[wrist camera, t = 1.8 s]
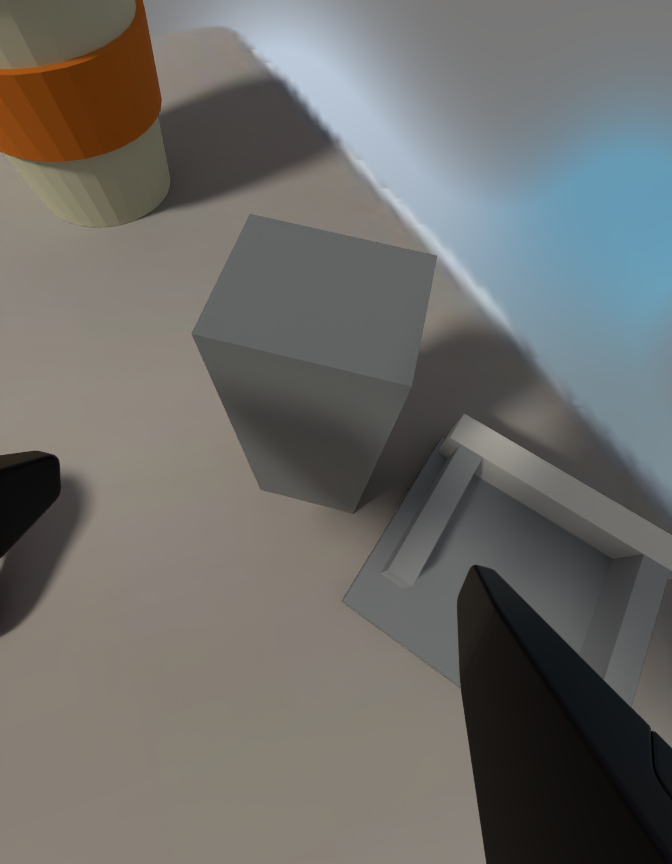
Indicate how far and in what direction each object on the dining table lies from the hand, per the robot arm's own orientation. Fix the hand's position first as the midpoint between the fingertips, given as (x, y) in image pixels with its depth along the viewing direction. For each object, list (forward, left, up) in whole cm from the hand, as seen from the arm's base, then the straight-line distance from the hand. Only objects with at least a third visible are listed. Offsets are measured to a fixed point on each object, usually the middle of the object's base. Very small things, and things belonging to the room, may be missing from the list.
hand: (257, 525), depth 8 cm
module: (+4, -3, -12) cm, 13 cm away
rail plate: (-5, -9, -12) cm, 16 cm away
